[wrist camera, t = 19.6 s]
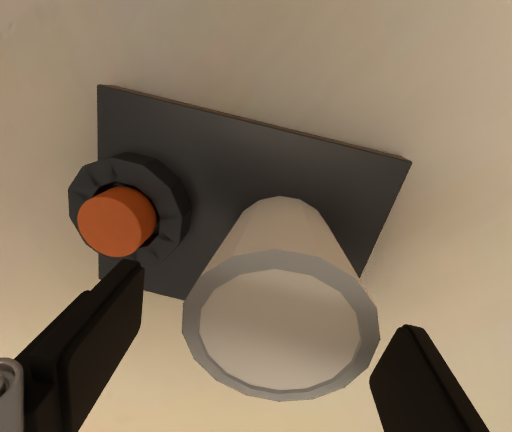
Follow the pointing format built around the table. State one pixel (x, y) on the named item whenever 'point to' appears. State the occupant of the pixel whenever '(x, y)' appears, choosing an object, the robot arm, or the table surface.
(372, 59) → the table surface
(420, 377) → the robot arm
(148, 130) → the scale
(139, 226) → the button
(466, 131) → the table surface
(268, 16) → the table surface
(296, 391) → the beige cup
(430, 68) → the table surface
